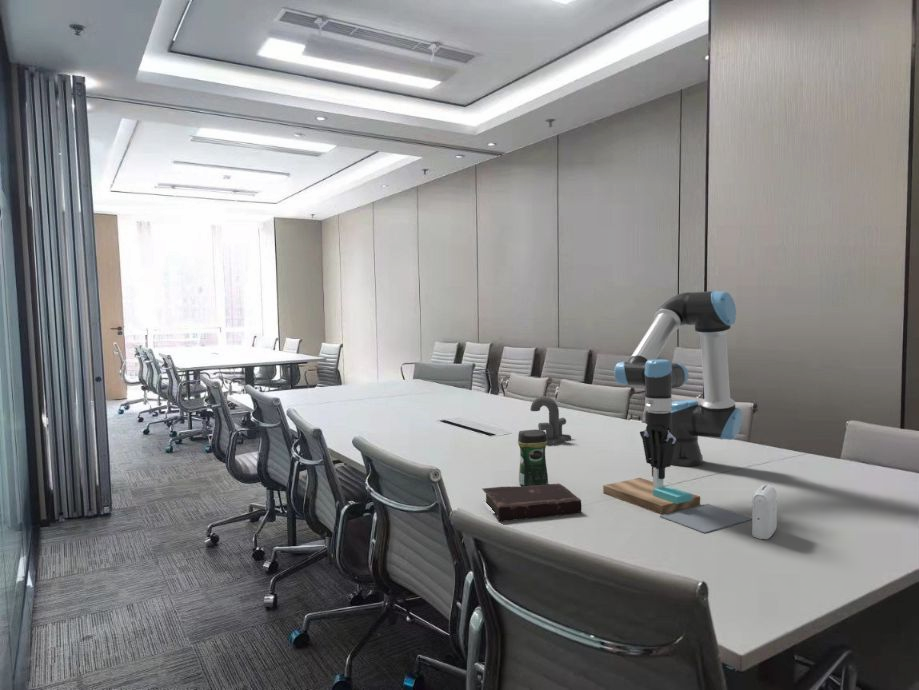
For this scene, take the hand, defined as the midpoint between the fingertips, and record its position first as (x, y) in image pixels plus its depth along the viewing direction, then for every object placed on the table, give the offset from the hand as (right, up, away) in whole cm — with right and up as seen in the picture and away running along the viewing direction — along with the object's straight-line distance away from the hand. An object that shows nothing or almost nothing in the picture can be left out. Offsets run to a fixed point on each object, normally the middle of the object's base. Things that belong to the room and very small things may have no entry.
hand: (658, 488), depth 182 cm
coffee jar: (-35, -4, +21) cm, 41 cm away
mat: (+8, -5, -15) cm, 17 cm away
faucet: (-21, 0, +90) cm, 92 cm away
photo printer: (+19, -5, -27) cm, 33 cm away
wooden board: (-1, -4, +3) cm, 5 cm away
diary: (-39, -6, -3) cm, 40 cm away
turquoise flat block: (+3, -2, -5) cm, 5 cm away
